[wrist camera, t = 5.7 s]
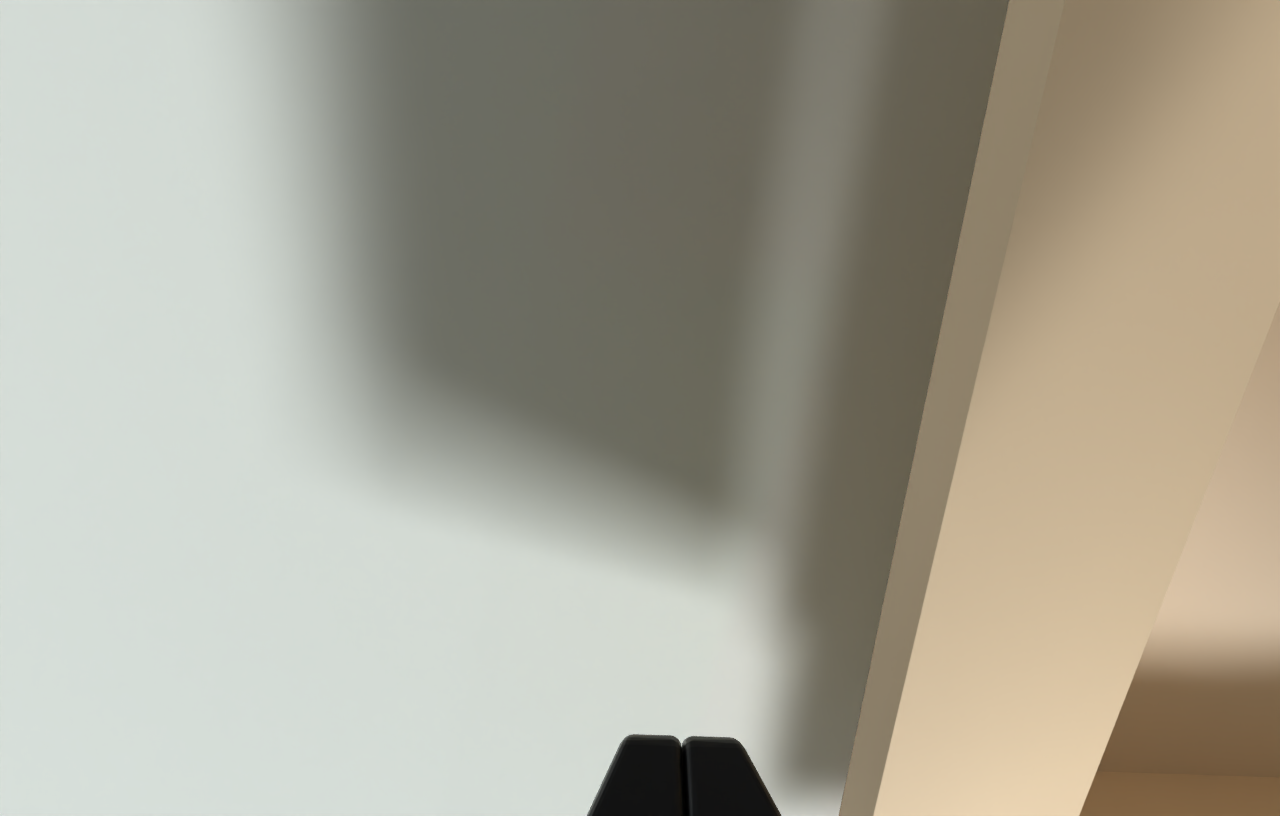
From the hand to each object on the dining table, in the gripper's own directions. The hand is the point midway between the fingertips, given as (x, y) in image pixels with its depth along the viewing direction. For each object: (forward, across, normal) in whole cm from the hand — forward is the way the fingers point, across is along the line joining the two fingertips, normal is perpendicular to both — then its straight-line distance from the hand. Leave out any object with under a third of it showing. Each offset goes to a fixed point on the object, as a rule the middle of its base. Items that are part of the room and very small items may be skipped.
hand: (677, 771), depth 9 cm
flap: (+3, -5, 0) cm, 6 cm away
